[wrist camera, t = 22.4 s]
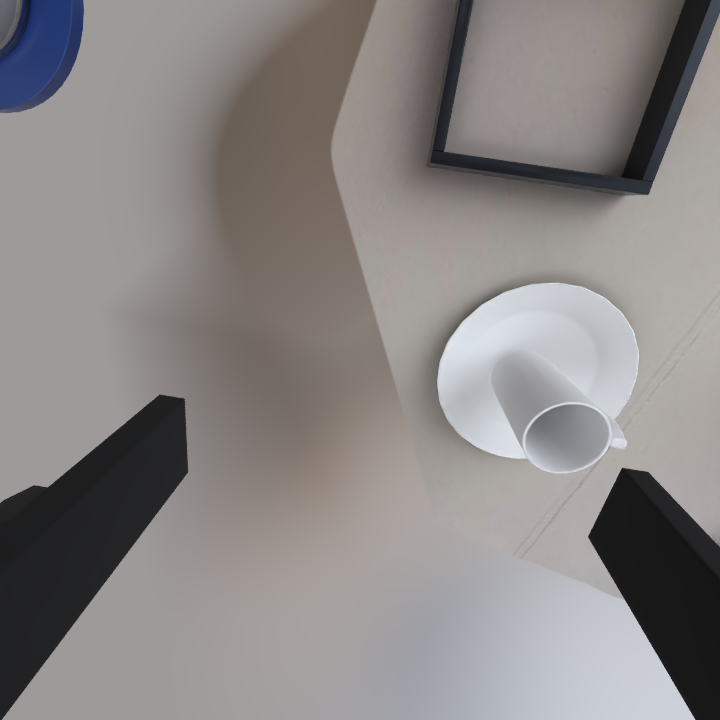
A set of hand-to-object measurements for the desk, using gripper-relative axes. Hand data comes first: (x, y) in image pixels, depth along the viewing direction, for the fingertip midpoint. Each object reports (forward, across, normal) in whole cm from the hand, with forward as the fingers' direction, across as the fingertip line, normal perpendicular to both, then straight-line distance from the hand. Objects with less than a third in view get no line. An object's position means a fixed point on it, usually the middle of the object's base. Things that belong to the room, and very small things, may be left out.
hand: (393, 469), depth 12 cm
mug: (+30, +17, -8) cm, 35 cm away
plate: (+32, +17, -8) cm, 37 cm away
